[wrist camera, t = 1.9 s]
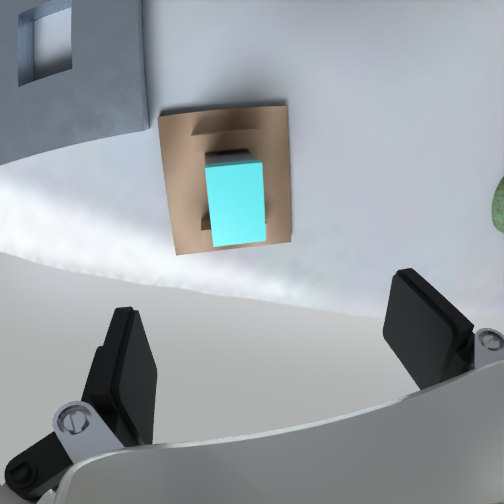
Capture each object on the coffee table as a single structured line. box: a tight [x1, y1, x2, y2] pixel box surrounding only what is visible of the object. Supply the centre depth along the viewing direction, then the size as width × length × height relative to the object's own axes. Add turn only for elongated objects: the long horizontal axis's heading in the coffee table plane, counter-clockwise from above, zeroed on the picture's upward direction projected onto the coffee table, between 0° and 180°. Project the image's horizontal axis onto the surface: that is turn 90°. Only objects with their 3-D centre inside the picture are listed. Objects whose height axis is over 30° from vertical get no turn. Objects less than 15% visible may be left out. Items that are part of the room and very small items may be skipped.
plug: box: [204, 149, 266, 247], centre depth 27 cm, size 4×6×8 cm, turn 4°
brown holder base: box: [157, 106, 291, 255], centre depth 30 cm, size 12×14×4 cm
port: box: [0, 0, 150, 165], centre depth 21 cm, size 18×22×4 cm
